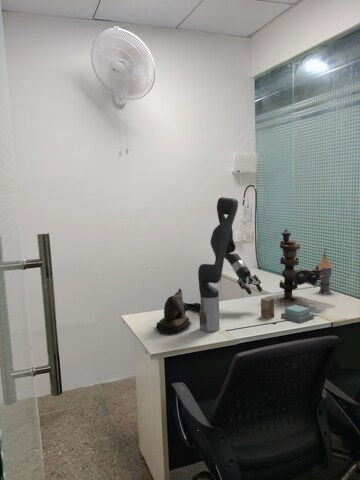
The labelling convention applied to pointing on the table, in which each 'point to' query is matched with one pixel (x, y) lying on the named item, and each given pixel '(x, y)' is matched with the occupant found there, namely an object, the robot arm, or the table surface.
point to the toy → (193, 306)
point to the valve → (296, 278)
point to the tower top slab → (297, 310)
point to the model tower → (325, 274)
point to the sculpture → (174, 316)
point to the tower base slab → (297, 319)
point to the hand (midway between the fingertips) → (256, 292)
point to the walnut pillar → (267, 307)
